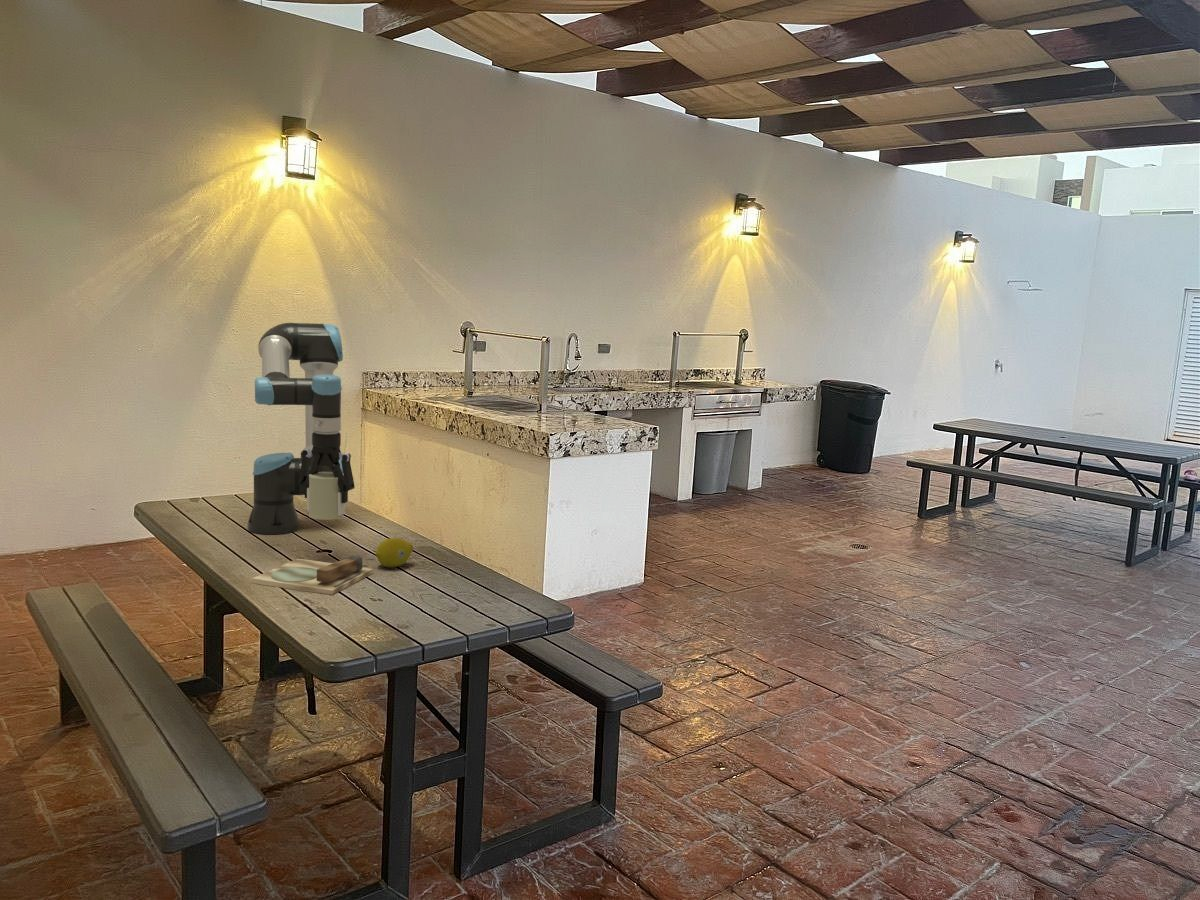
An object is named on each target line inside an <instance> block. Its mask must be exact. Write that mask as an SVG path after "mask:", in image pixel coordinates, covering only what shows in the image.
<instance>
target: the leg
mask: <svg viewBox="0 0 1200 900" xmlns="http://www.w3.org/2000/svg"><path fill="white" fill-rule="evenodd" d="M332 563H333V564H330V565H327V566H325V567H322V568H319V569H317V581H319V582H324V583H328V582H330V581H333V580H335V579H338V578H340V577H343V576H345V575H348V574H350V573H353V572H355V571H358V570H361V569H362V568H363V556H360V555H351V556H348V558H347V557H346V558H344V559H341V560H338V561H336V562H332Z"/></svg>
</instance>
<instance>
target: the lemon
mask: <svg viewBox="0 0 1200 900" xmlns="http://www.w3.org/2000/svg"><path fill="white" fill-rule="evenodd" d="M413 550H414V546H413V544H412V543H410V542H409V541H407V540H405V539H403V538H399V537H398V538H397V537H391V538H386V539H384V540H383V541H381V543H379V544H378V546H377V549H376V552H375V554H374V555H375V557H376V558H377V561H378V562H379V564H380V565H381V566H382V567H385V568H390V569H391V568H397V567H400V566H403V564H405V563H406V562H407V561H409V558H410V557H411V555H412V553H413Z"/></svg>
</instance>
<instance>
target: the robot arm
mask: <svg viewBox="0 0 1200 900" xmlns="http://www.w3.org/2000/svg"><path fill="white" fill-rule="evenodd" d="M258 354H259V356H260V358H261V377H256V378H255V379H254V401H255V403H256V404H257V405H267V406H304V407H305V408H304V409H305V412H304V413H305V414H304V415H305V422H304V423H305V447H304V448H303V449H302V450H301V451H300V457H295V456H294V454H293V453H292V452H274V453H269V454H265V455H262V456H259V457H257V458H256V459H255V460H254V461H253V472H252V475H253V505H252V509H251V511H250V515H249V517H248V521H247V531H249V532H250V533H254V534H258V535H260V534H261V535H282V534H283V535H284V534H288V533H293V532H295V531H298V530H299V529H300V519H299V517H298V514H297V511H296V507H295V503H294V496H304V499H306V512H309V474H311V475H314V474H317V473H318V472H333V474H334V477H335V478H337V477H338V486H339V488H340V491H339V492H338V515H342V514H343V515H345V514H346V503H348V501H349V492H350V491H352V490H355V487H356V486H355V481H354V476H353V471H352V467H351V466H352V465H351V460H352V459H351V457H352V455H351V453H343V452H342V451H341V441H342V439H341V438H342V436H341V432H340V431H342V430H341V429H342V425H341V424H342V415H341V412H342V405H341V403H342V379H341V377H340V376H339V375H335V374H334V371H335V370H336V369H337V368H338V367H339V362H343V360H344V359H343V358H344V356H343V355H344V354H343V343H342V336H341V333H340V330H339V328H338V327H337V326H336V325H334V324H328V323H326V324H325V323H308V322H307V323H306V322H284V323H283V322H282V323H280V324H277V325H275V326H273V327H271V328H270V329H268V330H267V331H266V332H264V333H263V335H262V336H261V337H260V339H259V342H258ZM292 360H293V361H299V367H300V368H301V369H302V370H303V371H304V377H303V378H301V377H300V378H299V377H291V373H290V361H292Z"/></svg>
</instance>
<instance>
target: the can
mask: <svg viewBox="0 0 1200 900" xmlns="http://www.w3.org/2000/svg"><path fill="white" fill-rule="evenodd" d="M339 491H340V488H339V486H338V477H337V478H335V477H334V474H333V472H318V473H317V474H314V475H311V474H309V511H308V517H309V518H311V519H314V520H321V521H324V520H325V521H328V520H337V519H340V518H342V517H343V516H344V514H342V515H338V492H339Z"/></svg>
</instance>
